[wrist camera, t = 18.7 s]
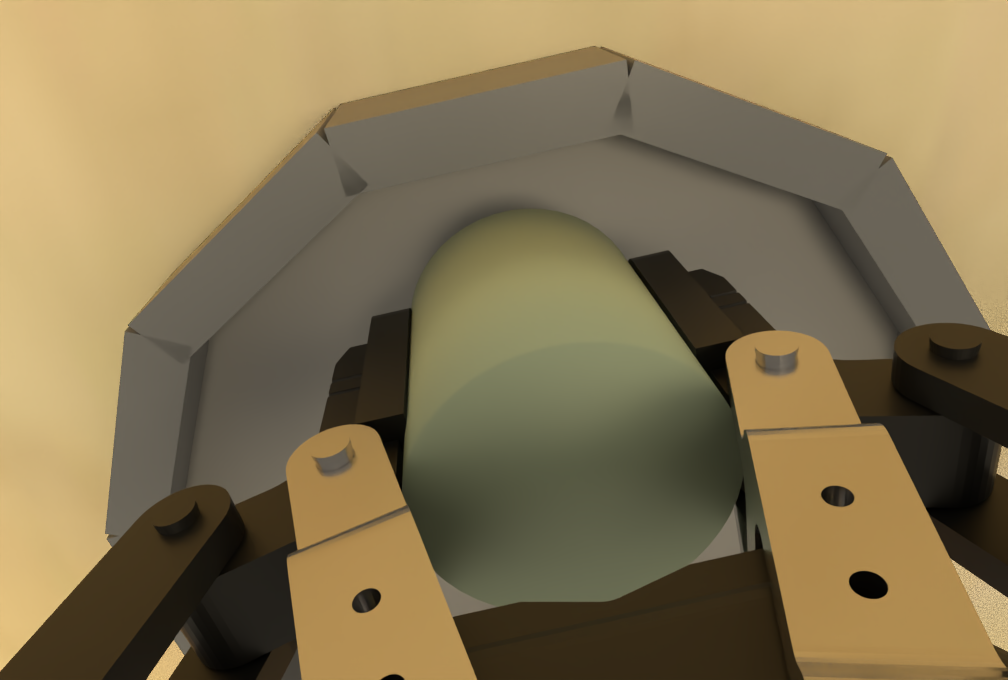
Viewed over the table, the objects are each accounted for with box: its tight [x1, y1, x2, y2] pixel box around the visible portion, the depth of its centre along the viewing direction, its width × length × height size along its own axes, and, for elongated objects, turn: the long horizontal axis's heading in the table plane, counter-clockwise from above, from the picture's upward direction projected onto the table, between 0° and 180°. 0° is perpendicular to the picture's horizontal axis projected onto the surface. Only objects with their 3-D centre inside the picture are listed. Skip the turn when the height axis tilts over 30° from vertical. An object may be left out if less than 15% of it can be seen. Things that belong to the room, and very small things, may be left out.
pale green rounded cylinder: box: [402, 209, 743, 607], centre depth 11 cm, size 4×4×5 cm
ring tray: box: [105, 46, 990, 680], centre depth 17 cm, size 20×20×2 cm
